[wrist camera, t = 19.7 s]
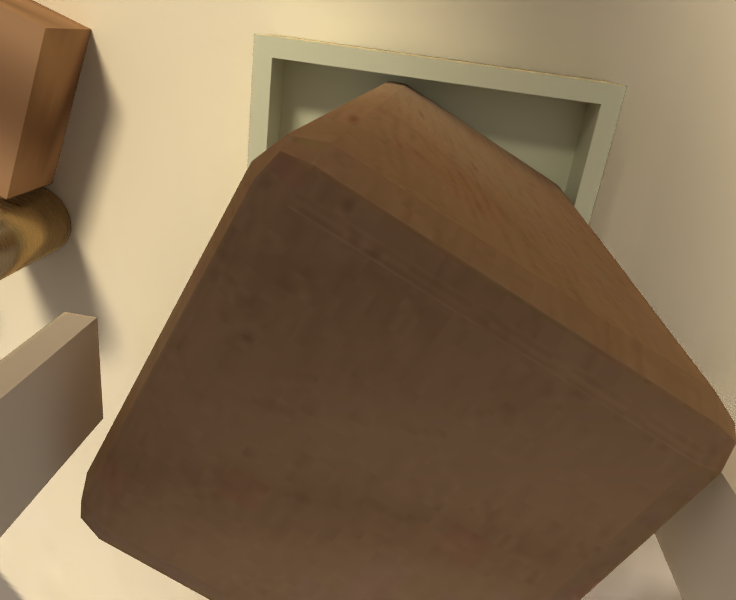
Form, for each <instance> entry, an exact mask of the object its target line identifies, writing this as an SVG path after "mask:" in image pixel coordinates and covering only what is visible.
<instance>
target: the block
mask: <svg viewBox="0 0 736 600" xmlns="http://www.w3.org/2000/svg"><path fill="white" fill-rule="evenodd" d="M735 445H736V433H735V425H734V421H733V420H732V418H731V416H730V415H729V413H728V412H727V410H726V408H725V407H724V405H723V403H722V402H721V400H720V398H719V397H718V395H717V393H716V392H715V390H714V389H713V388H712V386H711V385H710V384H709V382H708V381H707V380H706V378H705V377H704V376H703V375H702V373H701V372H700V371H699V369H698V368H697V367H696V365H695V364H694V363H693V361H692V360H691V359H690V358H689V356H688V355H687V354H686V352H685V351H684V350H683V348H682V347H681V346H680V344H679V343H678V342H677V340H676V339H675V338H674V337H673V335H672V334H671V333H670V331H669V330H668V329H667V327H666V326H665V325H664V323H663V322H662V321H661V319H660V318H659V317H658V316H657V314H656V313H655V312H654V310H653V309H652V308H651V306H650V305H649V304H648V302H647V301H646V300H645V298H644V297H643V296H642V295H641V293H640V292H639V291H638V289H637V288H636V287H635V285H634V284H633V283H632V281H631V280H630V279H629V278H628V276H627V275H626V274H625V272H624V271H623V270H622V268H621V267H620V266H619V264H618V263H617V262H616V260H615V259H614V258H613V257H612V255H611V254H610V253H609V251H608V250H607V249H606V247H605V246H604V245H603V243H602V242H601V241H600V239H599V238H598V237H597V236H596V234H595V233H594V232H593V230H592V229H591V228H590V226H589V225H588V224H587V222H586V221H585V220H584V218H583V217H582V216H581V215H580V213H579V212H578V211H577V209H576V208H575V207H574V205H573V204H572V203H571V201H570V200H569V199H568V198H567V196H566V195H565V194H564V192H563V191H562V190H561V188H560V187H559V186H558V185H557V184H556V183H554V182H553V181H551V180H550V179H548V178H547V177H545V176H544V175H542V174H541V173H539V172H538V171H536V170H535V169H533V168H532V167H530V166H529V165H527V164H526V163H524V162H523V161H521V160H520V159H518V158H517V157H515V156H514V155H512V154H511V153H509V152H508V151H506V150H505V149H503V148H502V147H500V146H499V145H497V144H496V143H494V142H493V141H491V140H490V139H488V138H487V137H485V136H484V135H482V134H481V133H479V132H478V131H476V130H475V129H473V128H472V127H470V126H469V125H467V124H466V123H464V122H463V121H461V120H460V119H458V118H457V117H455V116H454V115H452V114H451V113H449V112H448V111H446V110H445V109H443V108H442V107H440V106H439V105H437V104H436V103H434V102H433V101H431V100H430V99H428V98H427V97H425V96H424V95H422V94H421V93H419V92H418V91H416V90H415V89H413V88H412V87H410V86H409V85H407V84H403V83H397V82H392V81H388V82H386V83H384V84H382V85H380V86H378V87H377V88H375V89H373V90H371V91H369V92H367V93H365V94H363V95H361V96H359V97H357V98H355V99H354V100H352V101H350V102H348V103H346V104H344V105H342V106H340V107H338V108H336V109H334V110H332V111H331V112H329V113H327V114H325V115H323V116H321V117H319V118H317V119H315V120H313V121H311V122H309V123H308V124H306V125H304V126H302V127H300V128H298V129H296V130H294V131H292V132H290V133H288V134H286V135H285V136H284V137H282V138H281V139H280V140H279V141H277V142H276V143H275V144H273V145H272V146H271V147H270V148H268V149H267V150H266V151H264V152H263V153H262V154H260V155H259V156H258V157H257V158H255V159H254V160H253V161H252V162H251V163H250V165H249V167H248V169H247V171H246V173H245V175H244V177H243V179H242V181H241V182H240V184H239V186H238V188H237V190H236V192H235V194H234V196H233V198H232V199H231V201H230V203H229V205H228V207H227V209H226V211H225V213H224V215H223V217H222V218H221V220H220V222H219V224H218V226H217V228H216V230H215V232H214V234H213V235H212V237H211V239H210V241H209V243H208V245H207V247H206V249H205V251H204V252H203V254H202V256H201V258H200V260H199V262H198V264H197V266H196V268H195V270H194V271H193V273H192V275H191V277H190V279H189V281H188V283H187V285H186V287H185V288H184V290H183V292H182V294H181V296H180V298H179V300H178V302H177V304H176V306H175V307H174V309H173V311H172V313H171V315H170V317H169V319H168V321H167V323H166V324H165V326H164V328H163V330H162V332H161V334H160V336H159V338H158V340H157V341H156V343H155V345H154V347H153V349H152V351H151V353H150V355H149V357H148V359H147V360H146V362H145V364H144V366H143V368H142V370H141V372H140V374H139V376H138V377H137V379H136V381H135V383H134V385H133V387H132V389H131V391H130V393H129V395H128V396H127V398H126V400H125V402H124V404H123V406H122V408H121V410H120V412H119V413H118V415H117V417H116V419H115V421H114V423H113V425H112V427H111V429H110V431H109V432H108V434H107V436H106V438H105V440H104V442H103V444H102V446H101V448H100V449H99V451H98V453H97V455H96V457H95V459H94V461H93V463H92V465H91V466H90V468H89V470H88V472H87V476H86V481H85V486H84V491H83V495H82V500H81V518H82V519H83V521H84V522H85V523H86V524H87V525H88V526H89V527H90V529H91V530H92V531H93V532H94V533H95V534H96V535H97V537H98V538H99V539H101V540H102V541H104V542H106V543H108V544H110V545H112V546H113V547H115V548H117V549H119V550H121V551H122V552H124V553H126V554H128V555H130V556H132V557H133V558H135V559H137V560H139V561H141V562H142V563H144V564H146V565H148V566H150V567H152V568H153V569H155V570H157V571H159V572H161V573H162V574H164V575H166V576H168V577H170V578H172V579H173V580H175V581H177V582H179V583H181V584H182V585H184V586H186V587H188V588H190V589H191V590H193V591H195V592H197V593H199V594H201V595H202V596H204V597H206V598H208V599H210V600H580V599H581V598H582V597H584V596H585V595H586V594H587V593H588V592H589V591H590V590H591V589H592V588H594V587H595V586H596V585H597V584H598V583H599V582H600V581H601V580H602V579H604V578H605V577H606V576H607V575H608V574H609V573H610V572H611V571H613V570H614V569H615V568H616V567H617V566H618V565H619V564H620V563H621V562H623V561H624V560H625V559H626V558H627V557H628V556H629V555H630V554H631V553H633V552H634V551H635V550H636V549H637V548H638V547H639V546H640V545H641V544H643V543H644V542H645V541H646V540H647V539H648V538H649V537H650V536H652V535H653V534H654V533H655V532H656V531H657V530H658V529H659V528H660V527H662V526H663V525H664V524H665V523H666V522H667V521H668V520H669V519H670V518H672V517H673V516H674V515H675V514H676V513H677V512H678V511H679V510H680V509H682V508H683V507H684V506H685V505H686V504H687V503H688V502H689V501H691V500H692V499H693V498H694V497H695V496H696V495H697V494H698V493H699V492H701V491H702V490H703V489H704V488H705V487H706V486H707V485H708V484H709V483H711V482H712V481H713V480H714V479H715V478H716V477H717V476H718V475H719V474H721V472H722V470H723V468H724V466H725V464H726V462H727V460H728V458H729V456H730V455H731V453H732V451H733V449H734V447H735Z"/></svg>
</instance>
